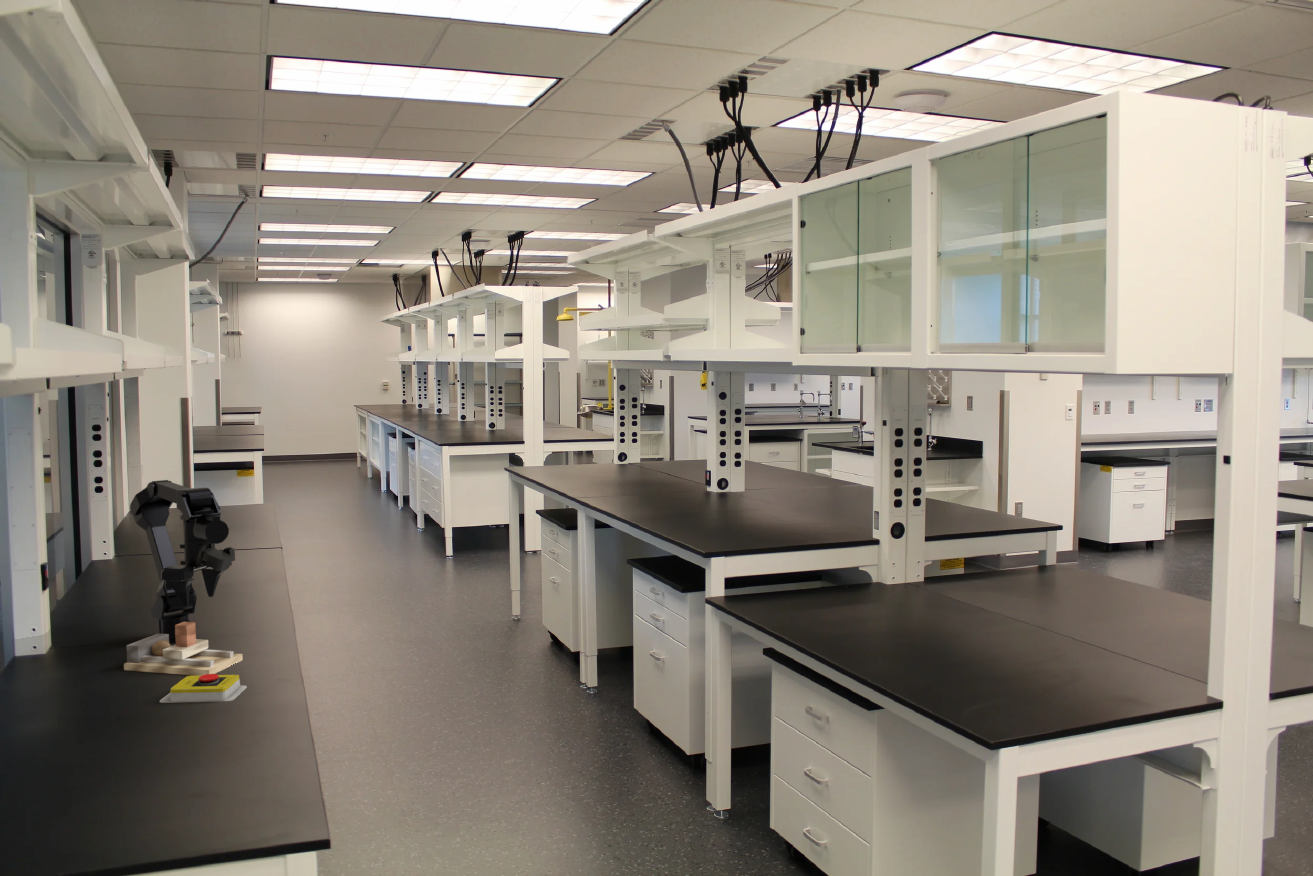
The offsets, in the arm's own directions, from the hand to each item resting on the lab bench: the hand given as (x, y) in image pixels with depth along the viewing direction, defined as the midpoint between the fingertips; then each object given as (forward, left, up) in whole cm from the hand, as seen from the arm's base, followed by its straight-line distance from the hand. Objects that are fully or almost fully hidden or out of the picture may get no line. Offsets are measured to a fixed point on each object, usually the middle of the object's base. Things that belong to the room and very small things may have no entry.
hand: (198, 601), depth 225 cm
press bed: (+5, -12, -12) cm, 18 cm away
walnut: (-1, -12, -10) cm, 16 cm away
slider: (+5, -12, -9) cm, 16 cm away
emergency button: (+22, -28, -13) cm, 38 cm away
